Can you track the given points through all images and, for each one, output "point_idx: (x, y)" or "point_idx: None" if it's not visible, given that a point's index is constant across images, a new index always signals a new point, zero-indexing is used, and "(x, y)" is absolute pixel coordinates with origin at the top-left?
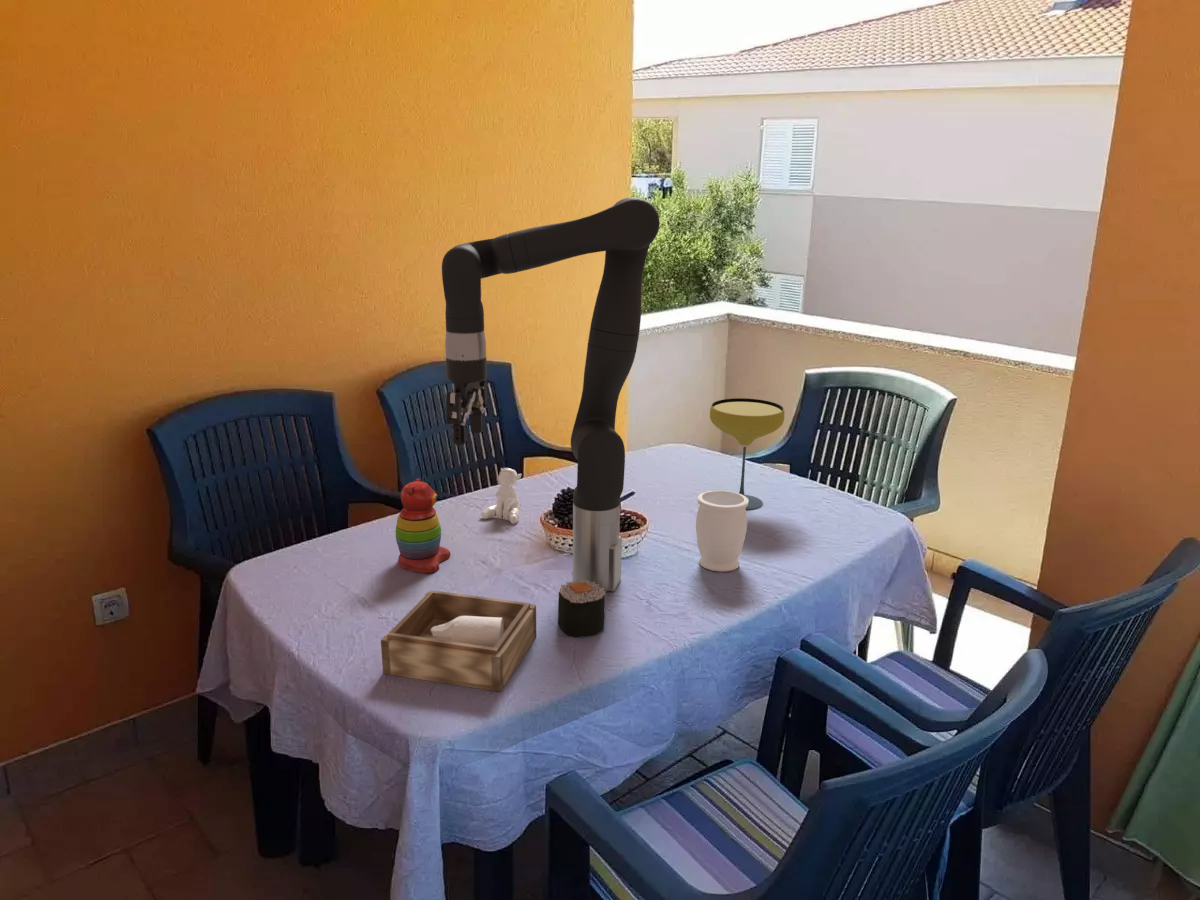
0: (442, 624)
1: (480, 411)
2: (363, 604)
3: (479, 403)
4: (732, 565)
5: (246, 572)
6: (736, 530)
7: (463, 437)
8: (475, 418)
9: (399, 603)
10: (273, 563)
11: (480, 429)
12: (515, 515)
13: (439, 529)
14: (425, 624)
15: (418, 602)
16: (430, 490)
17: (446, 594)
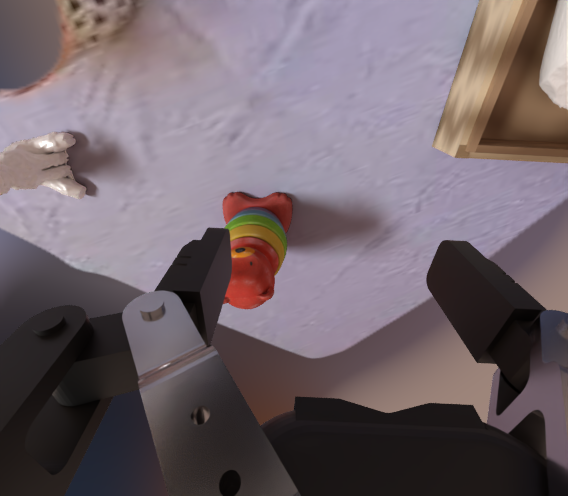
0: (558, 96)
1: (186, 315)
2: (383, 239)
3: (236, 394)
4: None
5: (323, 351)
6: None
7: (485, 263)
8: (213, 303)
9: (379, 203)
10: (301, 342)
11: (223, 238)
12: (58, 137)
13: (248, 218)
14: (486, 139)
15: (491, 158)
16: (238, 267)
17: (488, 119)
